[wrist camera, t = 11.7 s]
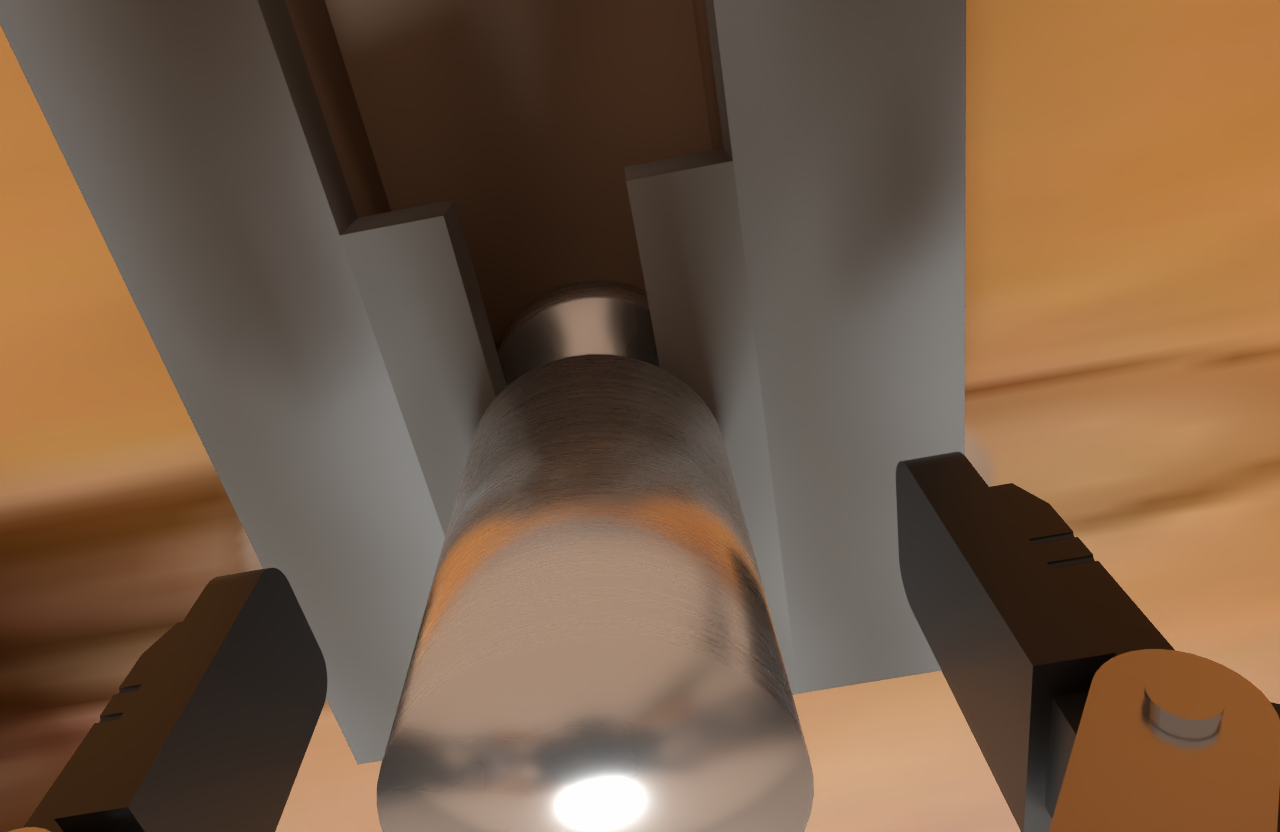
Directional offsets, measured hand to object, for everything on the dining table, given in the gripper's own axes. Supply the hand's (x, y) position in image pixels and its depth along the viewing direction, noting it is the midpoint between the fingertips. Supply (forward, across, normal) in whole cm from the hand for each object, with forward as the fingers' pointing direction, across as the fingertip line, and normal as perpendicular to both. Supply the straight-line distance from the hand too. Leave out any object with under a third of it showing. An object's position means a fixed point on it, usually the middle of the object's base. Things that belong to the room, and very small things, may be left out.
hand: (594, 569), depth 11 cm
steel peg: (+6, 0, 0) cm, 6 cm away
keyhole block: (+7, 0, -3) cm, 8 cm away
